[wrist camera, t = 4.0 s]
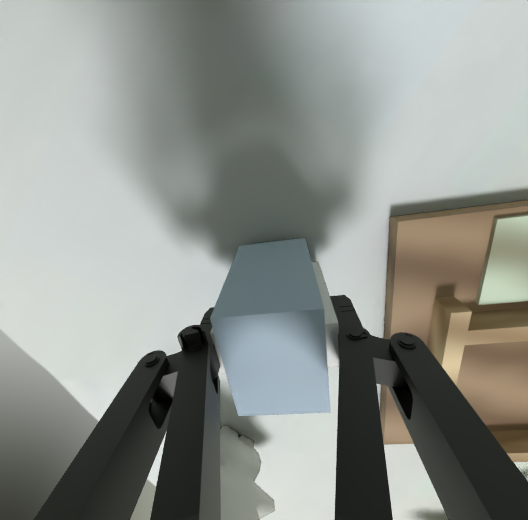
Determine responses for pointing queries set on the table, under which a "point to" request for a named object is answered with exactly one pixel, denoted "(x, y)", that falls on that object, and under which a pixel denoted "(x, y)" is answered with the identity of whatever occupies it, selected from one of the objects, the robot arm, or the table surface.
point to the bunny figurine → (241, 479)
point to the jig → (465, 310)
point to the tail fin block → (273, 331)
